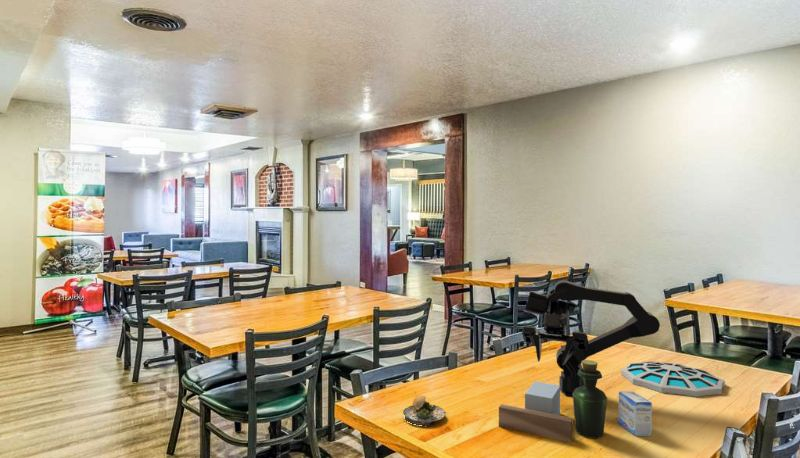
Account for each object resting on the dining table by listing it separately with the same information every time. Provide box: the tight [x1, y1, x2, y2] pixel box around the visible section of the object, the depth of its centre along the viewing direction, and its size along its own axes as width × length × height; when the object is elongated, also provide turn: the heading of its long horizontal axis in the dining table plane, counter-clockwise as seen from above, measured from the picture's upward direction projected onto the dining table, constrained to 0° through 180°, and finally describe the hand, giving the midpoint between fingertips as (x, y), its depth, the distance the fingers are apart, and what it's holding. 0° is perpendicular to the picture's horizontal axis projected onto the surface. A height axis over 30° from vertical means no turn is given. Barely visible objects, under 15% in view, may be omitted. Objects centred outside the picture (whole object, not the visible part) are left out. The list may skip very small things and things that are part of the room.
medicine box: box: [617, 390, 653, 437], centre depth 118 cm, size 8×4×9 cm, turn 5°
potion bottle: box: [572, 359, 608, 439], centre depth 116 cm, size 8×8×18 cm
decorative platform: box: [620, 360, 726, 398], centre depth 156 cm, size 31×29×5 cm
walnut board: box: [498, 404, 574, 443], centre depth 117 cm, size 2×18×5 cm, turn 60°
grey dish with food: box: [402, 392, 447, 427], centre depth 126 cm, size 12×12×8 cm
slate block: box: [524, 380, 561, 416], centre depth 125 cm, size 11×7×8 cm, turn 150°
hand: (550, 362), depth 134 cm, fingers open, 7 cm apart
